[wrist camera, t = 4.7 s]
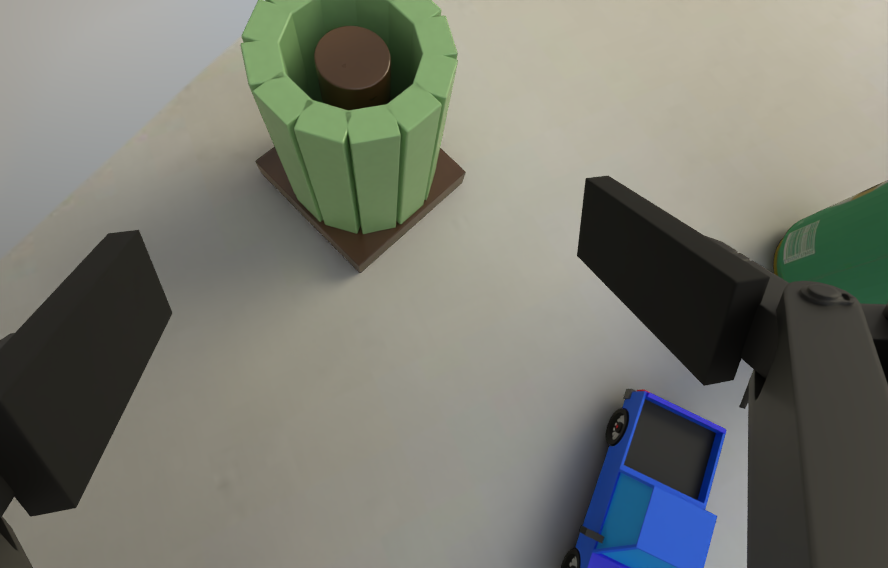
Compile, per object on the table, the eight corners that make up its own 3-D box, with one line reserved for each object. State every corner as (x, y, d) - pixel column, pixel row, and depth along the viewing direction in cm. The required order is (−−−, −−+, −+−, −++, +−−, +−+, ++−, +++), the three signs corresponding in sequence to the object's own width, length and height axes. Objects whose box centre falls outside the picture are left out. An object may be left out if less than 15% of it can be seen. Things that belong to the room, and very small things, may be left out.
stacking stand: (261, 172, 30) (193, 44, 19) (367, 91, 32) (358, -63, 22) (360, 273, 29) (345, 195, 19) (462, 182, 31) (500, 68, 21)
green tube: (259, 161, 29) (195, 35, 19) (366, 80, 31) (357, -69, 21) (359, 261, 28) (344, 183, 18) (461, 171, 30) (497, 59, 20)
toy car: (535, 590, 26) (569, 631, 21) (607, 384, 29) (651, 379, 24) (647, 644, 26) (706, 697, 21) (706, 432, 29) (769, 436, 24)
